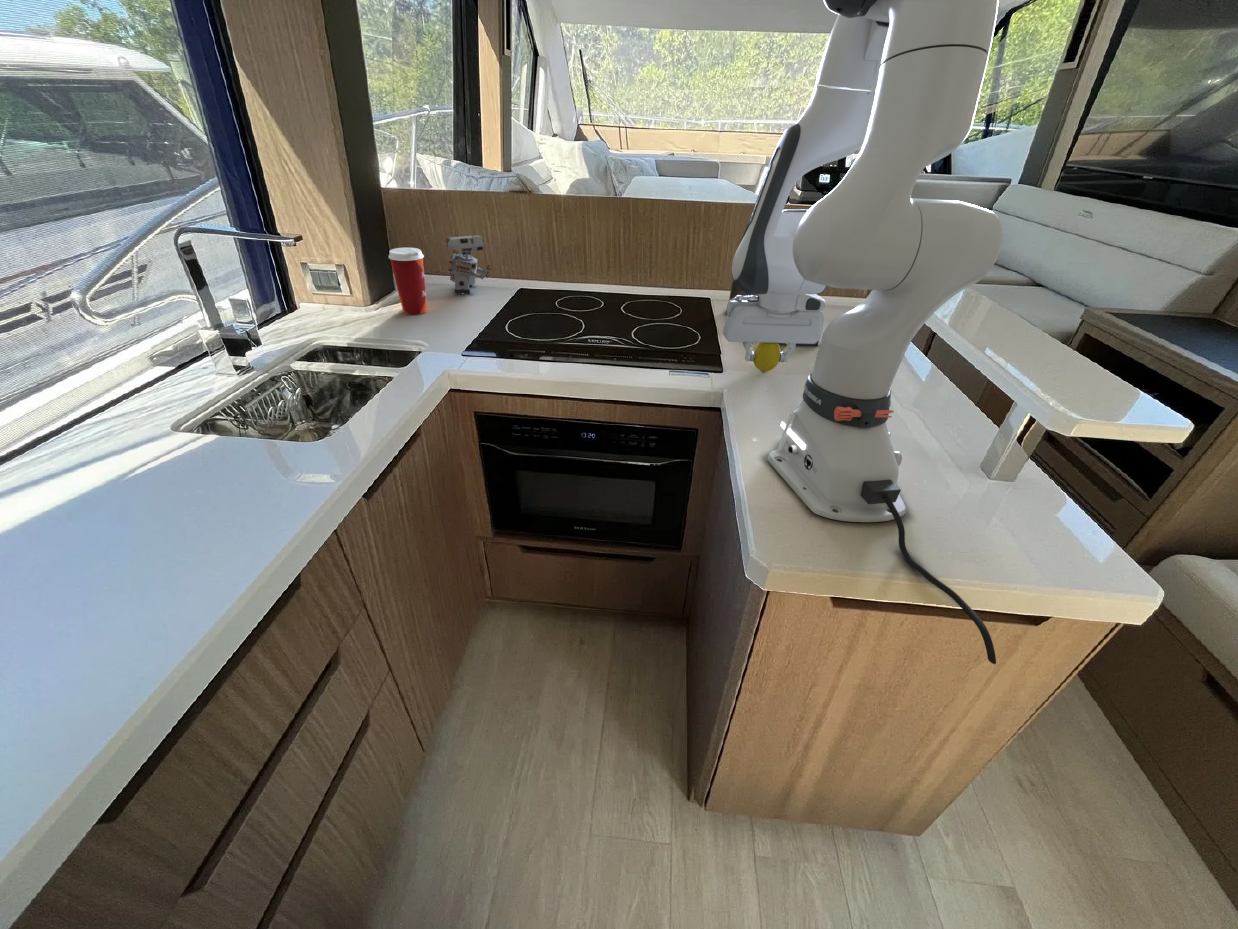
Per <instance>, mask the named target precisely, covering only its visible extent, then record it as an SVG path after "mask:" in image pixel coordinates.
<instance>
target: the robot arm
mask: <svg viewBox="0 0 1238 929" xmlns="http://www.w3.org/2000/svg"><path fill="white" fill-rule="evenodd" d="M999 2H1000V1H999V0H823V3H824V5H825V8H827V10H829V11H831V12H832V13H834V14H836V15H837V16H836V19H835V21H834V23H833V26H832V29H831V31H830V35H829V37H828V40H827V43H826V46H825V49H824V52H823V55H822V58H821V62H820V65H819V69H818V72H817V75H816V81H815V85H814V88H813V92H812V94H811V97H810V100H809V103H808V105H807V106H806V108H805V110H804V111H803V113H802V115H801V117H800V118H799V119H798V120H797V121H796V122H795V124H792V125H791V126H789V127H787V128H786V129H785V130H784V132H783V134H782V135H781V137H780V139H779V141H778V143H777V145H776V147H775V150H774V152H773V155H772V157H771V159H770V162H769V164H768V167H767V170H766V173H765V175H764V177H763V180H762V184H761V186H760V189H759V192H758V195H757V198H756V201H755V203H754V206H753V209H752V212H751V215H750V217H749V220H748V222H747V225H746V228H745V230H744V232H743V233H742V236H741V239H740V240H739V242H738V245H737V248H736V249H735V253H734V255H733V259H732V263H731V279H732V280H733V281H734V282H735V284H736V285H737V286H738V288H739V289H740V290H741V291H743V292H744V293H745V294H747V295H757V296H743V295H737V296H736V297H734V298H732V299H731V300H730V301H729V300H728V302H727V305H726V310H725V311H726V317H725V319H724V320H725V321H724V324H723V329H722V335H723V336H724V338H725V339H726V340H727V341H728V342H731V343H732V342H734V343H742V345H743V347H744V350H745V356H744V358H745V361H746V362H753V361H754V357H755V353H754V350H751V349H750V348H752V347H753V343H759V342H763V343H786V345H785V346H786V347H785V348H784V349H783V350H782V351H780V359H779V362H778V363H786V362H787V361H788V356H789V355H790V354H792V352H793V351H794V350H795V349H796V346H797V345H796V343H800V344H815V343H816V342H818V341H819V342H820V344H819V347H818V351H817V353H816V354H817V355H816V357H815V362H814V365H813V367H812V368H813V369H812V371H811V372H810V373H809V374H808V376H807V379H806V381H805V383H804V387H803V393H802V401H801V402H800V404H799V405H798V406H797V407H796V409H794V411H792V412H791V414H789V416H788V419H787V422H786V423H785V422H784V421H781V423H780V427H781V428H782V429H783V432H782V434H781V438H780V441H779V444H778V446H777V448H776V449H774V450H772V451H770V452H769V454H768V456H767V461H768V462H769V464H770V465H771V466H772V467H773V468H774V469H775V471H776V472H777V473H778V474H779V475H780V476H781V478H782V479H783V480H784V481H785V482H786V483H787V485H788V486H789V487H790V488H791V489H792V490H793V492H794V493H795V494H796V495H797V496H798V497H799V498H800V499H801V501H802V502H803V503H804V504H805V506H807V507H808V509H809V510H810V511H811V512H812V513H813V514H815V515H818V516H820V517H823V518H827V519H831V520H836V521H840V522H851V523H879V522H880V523H881V522H888V521H893V520H894V521H895V524H896V528H897V533H898V534H897V535H898V547H899V551H900V553H901V555H902V556H903V559H904V560H905V561H906V562H907V563H908V565H910V566H911V567H912V568H913V569H914V570H915V571H917V572H918V573H919V574H920V575H921V576H923V577H924V578H925V579H926V580H927V581H928V582H929V583H931V584H932V585H934V586H935V587H936V588H938V589H939V590H940V591H942V592H943V593H945V594H946V595H948V596H949V597H950V598H951V599H952V600H953V601H954V602H955V603H956V604H957V606H959V607H960V608H961V609H962V610H963V612H964V613H965V614H966V615H967V616H968V617H969V618H970V619H971V620H972V622H973V624H975V626H976V628H977V629H978V630H979V632H980V634H981V637H982V640H983V643H984V646H985V650H986V655H987V656H986V657H987V660H988V662H989V663H991V664H992V665H996V664H997V657H996V651H995V647H994V643H993V640H992V636H991V634H990V631H989V630H988V627H987V626H986V624H985V623H984V621H983V620H982V619H981V617H980V616H979V615H978V614H977V613H976V612H975V610H973V608H972V607H970V605H969V604H968V603H966V601H965V600H964V599H962V597H961V596H960V595H959V594H958V593H957V592H955V591H954V590H953V589H952V588H950V587H949V586H948V585H947V584H944V583H943V582H942V581H940V580H939V579H938V578H936V577H935V576H934V575H933V574H931V573H930V572H929V571H928V570H927V569H925V567H923V566H922V565H921V564H919V562H917V561H916V560H915V559H914V558H913V557H912V556H911V555H910V552H909V551H908V549H907V546H906V531H905V525H904V522H903V520H902V518H901V517H903V516H904V515H905V514H906V511H907V507H906V505H905V503H904V500H903V499H902V496H901V495H900V493H901V491H902V489H901V488H900V487H899V486H898V485H897V482H898V478H899V467H900V466H901V463H902V460H903V456H902V453H901V452H900V451H896V450H895V451H894V447H893V443H892V439H891V432H889V429H888V425H887V424H888V423H887V421H888V420H889V418H890V419H891V418H892V416H891V415H890V414H892V413H894V410H892V409H890V407H891V405H892V400H891V399H892V398H891V397H892V390H891V387H892V385H893V382H894V380H895V377H896V375H897V372H898V370H899V368H900V365H901V363H902V361H903V358H904V357H905V354H906V352H907V350H908V348H909V346H910V345H911V343H912V341H913V339H914V337H915V336H916V335H917V333H918V332H919V331H920V329H921V328H922V327H923V326H924V325H925V324H926V322H928V320H929V319H930V318H931V317H932V315H934V314H935V313H936V312H937V311H938V310H939V309H940V308H941V307H942V306H943V305H944V304H945V303H947V302H948V301H949V300H950V299H952V298H953V297H954V296H956V295H958V294H959V293H961V292H962V291H964V290H967V288H969V287H971V286H973V285H975V284H977V283H979V282H980V281H981V280H982V279H983V278H985V277H986V275H987V274H988V273H989V272H990V271H991V269H992V268H993V266H994V265H995V263H996V262H997V260H998V258H999V255H1000V253H1001V250H1002V246H1003V227H1002V223H1001V221H1000V219H999V217H998V215H997V214H996V213H995V212H993V211H992V210H989V209H987V208H983V207H980V206H978V205H976V204H971V203H968V202H965V201H960V200H953V199H951V200H950V199H933V198H932V199H931V198H913V197H912V193H913V190H914V187H915V186H916V182H917V180H918V178H919V176H920V175H921V173H922V172H923V170H925V168H926V167H928V166H930V165H933V164H934V163H936V162H939V161H940V160H942V159H944V158H946V157H947V156H949V155H951V154H952V153H953V152H954V151H956V150H957V149H958V148H959V147H960V146H961V145H962V144H963V143H964V141H965V140H966V138H967V137H968V136H969V134H970V132H971V130H972V128H973V124H974V121H975V120H974V119H975V115H976V111H977V107H978V102H979V99H980V94H981V89H982V86H983V82H984V79H985V75H986V74H985V73H986V69H987V65H988V61H989V56H990V51H991V48H992V43H993V38H994V33H995V28H996V21H997V15H998V7H999ZM857 151H859V152H858V153H857V156H856V157H855V159H854V162H853V163H852V165H851V167H850V168H849V170H848V171H847V173H846V174H845V175H844V176H843V178H842V179H841V181H839V183H838V184H837V185H836V186H835V187H833V189H832V190H831V191H830V192H829V193H828V194H826V195H825V196H824V197H823V198H821V199H819V200H818V201H816V203H814V204H813V205H812V206H811V207H810V208H808V209H798V208H797V209H792V208H791V209H790V208H789V209H784V208H785V207H786V204H787V202H788V198H789V195H790V193H791V191H792V189H793V188H794V186H795V185H796V184H797V182H798V181H799V180H800V179H801V178H802V177H803V176H804V175H806V174H808V173H809V172H811V171H812V170H813V171H814V170H815V169H817V168H820V167H822V166H824V165H827V164H829V163H833V162H835V161H839V160H841V159H844V158H846V157H848V156H850V155H852V154H854V153H856V152H857ZM828 288H835V289H839V290H842V289H843V290H866V291H867V290H868V291H870V290H871V291H870V293H869V294H868V295H867V296H866V298H864V299H863V301H861V302H860V303H859V304H858V305H856V306H855V307H854V308H852V309H850V310H848V311H846V312H844V313H842V314H840V315H838V316H837V317H835V318H833V319H832V320H831V321H830V322H829V323H828V324H827V326H826V327H825V329H824V324H825V316H824V315H825V314H824V313H823V312H822V311H824V310H825V308H826V304H827V303H826V301H825V299H823V297H821V296H820V295H818V294H822V293H824V292H825V291H826V290H827V289H828ZM735 299H736V300H735ZM823 329H824V331H823Z"/></svg>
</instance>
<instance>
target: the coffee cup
mask: <svg viewBox="0 0 1238 929" xmlns="http://www.w3.org/2000/svg"><path fill="white" fill-rule="evenodd" d="M424 257H425V255H424V254H423V252H422V250H421V249H419V248H417V247H395V248H392V249H390V250H389V254H388V259H389V260H390V263H391V268H392V273H393V277H394V280H395V285H396V289H397V292H398V293H397V294H398V297H399V301H400V304H401V309H402V311H403V312H402V313H404V314H405V315H408V316H409V315H410V316H418V315H420V316H421V315H423V314H424V315H425V314H426V313H427V312H428V300H427V290H426V289H427V288H426V279H425V278H426V277H425V268H424Z"/></svg>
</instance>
